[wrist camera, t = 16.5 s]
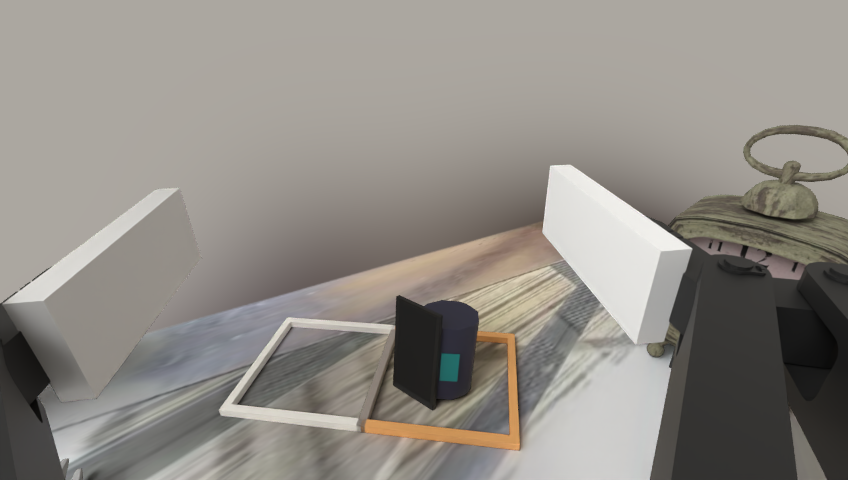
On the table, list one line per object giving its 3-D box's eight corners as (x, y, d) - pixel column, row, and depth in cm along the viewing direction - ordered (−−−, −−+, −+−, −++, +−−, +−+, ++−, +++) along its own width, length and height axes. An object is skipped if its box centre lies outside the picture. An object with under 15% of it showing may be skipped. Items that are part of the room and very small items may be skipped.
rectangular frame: (221, 415, 40) (218, 409, 40) (288, 322, 53) (287, 317, 53) (519, 450, 36) (519, 444, 35) (514, 339, 49) (514, 333, 48)
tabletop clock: (628, 354, 46) (683, 123, 34) (664, 319, 51) (721, 108, 40) (795, 439, 36) (947, 153, 24) (818, 385, 41) (953, 128, 30)
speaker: (419, 422, 38) (421, 326, 35) (392, 384, 43) (391, 296, 39) (484, 394, 42) (493, 305, 38) (453, 362, 47) (457, 280, 43)
